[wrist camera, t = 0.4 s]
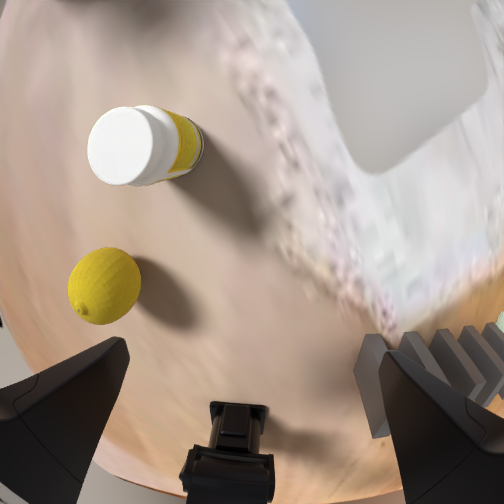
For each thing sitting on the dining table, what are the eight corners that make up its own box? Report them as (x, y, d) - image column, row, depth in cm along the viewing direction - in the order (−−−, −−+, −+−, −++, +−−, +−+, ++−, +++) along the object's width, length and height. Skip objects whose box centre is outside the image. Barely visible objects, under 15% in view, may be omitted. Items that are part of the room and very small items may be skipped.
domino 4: (472, 325, 23) (511, 372, 15) (457, 357, 25) (488, 406, 16) (464, 326, 23) (503, 375, 15) (448, 359, 25) (479, 409, 16)
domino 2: (416, 331, 23) (454, 391, 15) (401, 366, 25) (429, 426, 17) (404, 332, 23) (440, 395, 15) (389, 368, 25) (415, 430, 17)
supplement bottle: (184, 104, 18) (133, 79, 10) (216, 153, 19) (181, 154, 11) (136, 141, 19) (69, 141, 11) (166, 188, 20) (109, 212, 12)
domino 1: (379, 333, 24) (412, 401, 15) (366, 370, 25) (388, 436, 17) (365, 334, 24) (394, 404, 15) (353, 370, 25) (372, 438, 17)
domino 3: (447, 328, 23) (486, 381, 15) (431, 362, 25) (461, 416, 16) (437, 329, 23) (476, 385, 15) (421, 364, 25) (451, 419, 17)
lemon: (114, 294, 24) (69, 342, 16) (96, 240, 22) (40, 276, 15) (162, 289, 23) (123, 344, 16) (145, 230, 21) (91, 268, 14)
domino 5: (493, 322, 23) (530, 363, 14) (478, 353, 24) (509, 396, 16) (486, 323, 23) (524, 366, 14) (471, 354, 25) (502, 399, 16)
